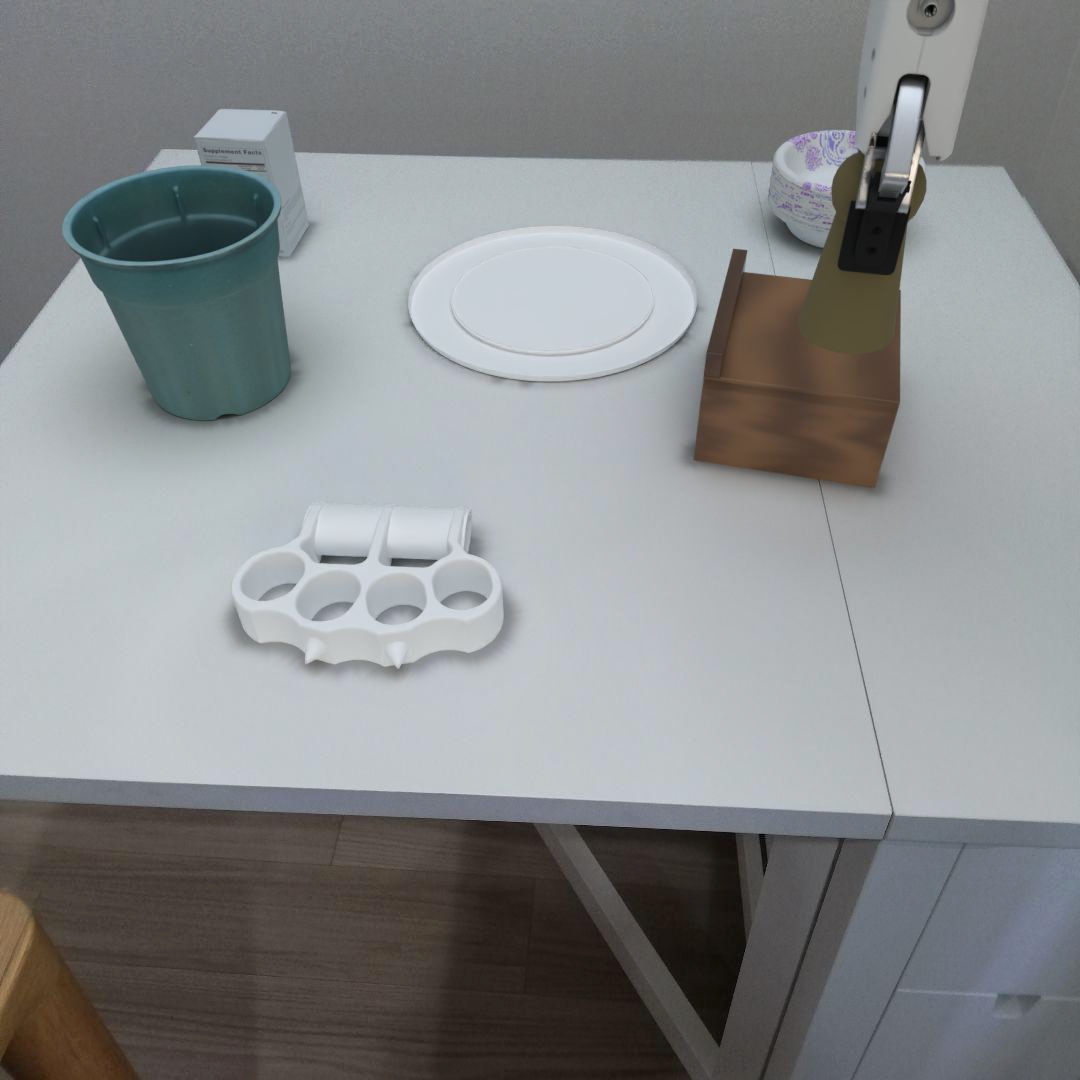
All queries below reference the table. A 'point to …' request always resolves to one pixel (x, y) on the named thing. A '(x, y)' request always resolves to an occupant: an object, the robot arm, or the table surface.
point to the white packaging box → (259, 160)
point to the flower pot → (191, 283)
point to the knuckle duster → (372, 585)
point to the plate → (552, 303)
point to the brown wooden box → (791, 388)
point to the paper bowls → (810, 181)
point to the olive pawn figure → (853, 279)
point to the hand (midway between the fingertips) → (865, 243)
